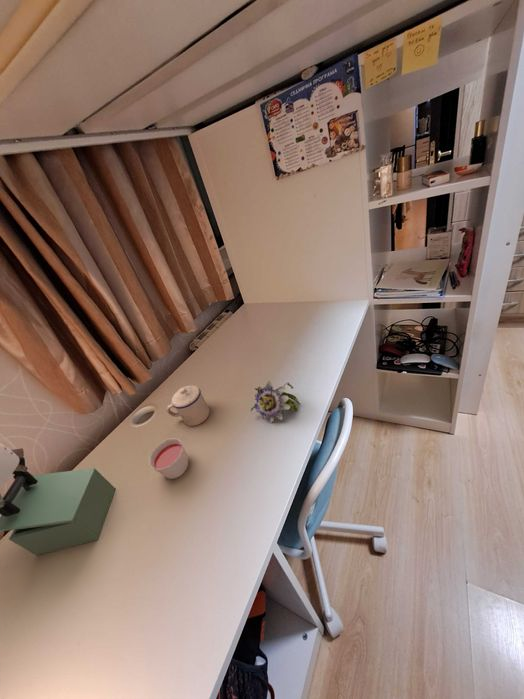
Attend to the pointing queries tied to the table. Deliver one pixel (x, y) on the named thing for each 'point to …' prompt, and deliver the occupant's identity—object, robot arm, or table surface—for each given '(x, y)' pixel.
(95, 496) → the green box
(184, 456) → the candle
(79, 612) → the table surface
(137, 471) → the table surface
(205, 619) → the table surface
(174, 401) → the teacup with lid
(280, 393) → the passion flower
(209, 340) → the table surface
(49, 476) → the lid
